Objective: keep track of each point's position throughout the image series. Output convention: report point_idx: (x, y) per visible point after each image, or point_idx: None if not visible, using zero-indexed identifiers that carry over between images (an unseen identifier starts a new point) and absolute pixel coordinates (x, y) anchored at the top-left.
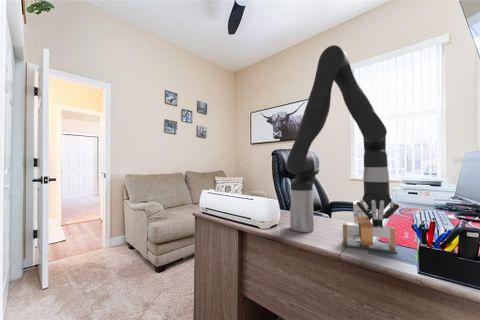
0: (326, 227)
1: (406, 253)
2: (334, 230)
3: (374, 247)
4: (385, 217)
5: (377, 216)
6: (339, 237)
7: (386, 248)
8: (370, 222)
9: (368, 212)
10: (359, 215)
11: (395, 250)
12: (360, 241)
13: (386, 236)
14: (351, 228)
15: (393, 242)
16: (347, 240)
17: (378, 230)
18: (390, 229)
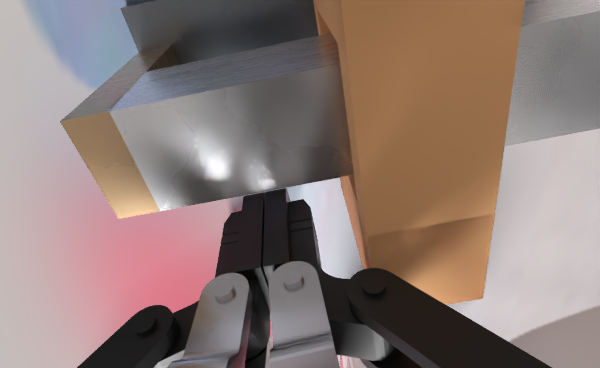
0: (575, 290)
1: (75, 50)
2: (533, 263)
3: (288, 8)
4: (167, 316)
5: (270, 343)
6: (527, 146)
7: (202, 39)
8: (351, 32)
9: (391, 330)
10: None
11: (136, 27)
12: None
13: (176, 69)
14: (565, 2)
15: (134, 64)
16: None
17: (245, 71)
18: (108, 108)
